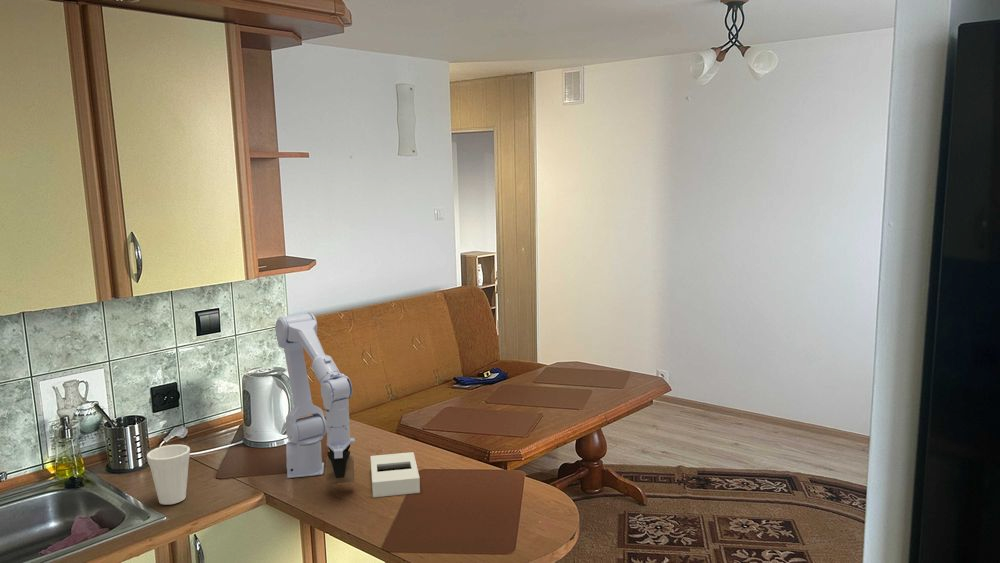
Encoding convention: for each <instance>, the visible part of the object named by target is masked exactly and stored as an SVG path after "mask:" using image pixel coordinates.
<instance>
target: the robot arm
mask: <svg viewBox="0 0 1000 563" xmlns="http://www.w3.org/2000/svg"><path fill="white" fill-rule="evenodd" d="M274 329H275V337H276V341H277V345H278V347H279V348H282V349H283V351H284V352H283V353H284V356H285V357H284V358H285V362H286V368H287V372H288V374H287V375H288V378H289V379H288V380H289V384H290V391H291V396H292V402H293V408H292V409H291V410H290V411H289V413H288V414H287V415H286V416H285V422H286V423H285V424H286V425H285V433H286V436H287V438H288V440H289V441H287V442H286V448H285V453H286V454H285V456H286V464H285V465H286V466H285V467H286V474H287V475H286V478H287V479H291V478H303V477H304V478H305V477H313V476H322V475H323V474H324V468H325V462H323V460H322V457H323V456H322V442H321V441H322V440H323V439H324V436H326V446H327V448H328V450H329V451H327V458H329V459H330V461H331V463H332V466H333V469H334V473H335V477H336V478H344V476H345V470H346V463H347V460H348V458H349V456H351V450H350V448H351V444H354V443H355V441H356V440H355V438H354V437H351V434H350V433H351V432H350V431H351V430H350V409H349V408H350V406H349V405H350V403H349V402H350V401H349V399H350V398H352V396H353V385H352V382H351V379H350V378H349V376H347V375H345V374H344V373H341V372H340V370H339V368H338V366H337V365H336V362H335V361H334V359H333V358H332V356H331V355H328V354H326V353H325V351H324V348H323V346H322V343H321V341H320V339H319V336H318V321H317V317H316V316H315V315H314V313H312V312H307V313H302V314H295V315H287V316H279V317H278V318H277V319H276V322H275V325H274ZM304 351H305V352H306V353H307V355H308V357H309V358H310V359H311V361H312V363H311V370H312V372H313V373H314V376H315V377H316V379H317V381H318V382H319V384H320V395H321V399H322V403H323V404H322V405H323V408H324V409H325V416H326V417H325V416H324V412H323V409H322V408H321V407H319V406H317V405H315V404H313V398H312V394H311V387H310V381H309V375H308V372H307V367H306V366H307V365H306V360H305V359H306V358H305V355H304V354H305V353H304Z"/></svg>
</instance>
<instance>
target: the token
mask: <svg viewBox="0 0 1000 563" xmlns="http://www.w3.org/2000/svg"><path fill="white" fill-rule="evenodd" d="M354 462H355V460H354V455H350V456H349V458H348V460H347V463H346V470H345V476H344V478H336V477H335V473H334V469H333V466H332V463H331V461H330V459H329V458H328V457H325V462H324V464H325V479H326V480H325V481H326V485H335V484H336V485H337V484H347V483H355V463H354Z"/></svg>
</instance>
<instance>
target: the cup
mask: <svg viewBox="0 0 1000 563" xmlns="http://www.w3.org/2000/svg"><path fill="white" fill-rule="evenodd" d="M190 454H191V448H190V446H188V445H186V444H168V445H163V446H159V447H156V448H154V449H151V450H149V452H147V454H146V459H147V463H148V465H149V467H150V471H151V475H152V479H153V484H154V488H155V492H156V496H157V499H158V502H159V504H160V505H174V504H177V503H180V502H182V501H184V500H185V499H186V496H187V487H188V473H189V463H190V462H189V461H190V458H191V455H190Z"/></svg>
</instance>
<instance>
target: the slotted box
mask: <svg viewBox="0 0 1000 563" xmlns="http://www.w3.org/2000/svg"><path fill="white" fill-rule="evenodd" d="M400 468H403V469H400ZM389 469H390V470H389ZM393 469H394V470H393ZM380 470H383V471H380ZM370 473H371V490H372V498H380V497H390V496H398V495H399V496H400V495H410V494H420V493H421V486H420V485H421V483H420V480H421V478H420V474H419V469H418V466H417V462H416V457H415V452H412V451H411V452H410V451H409V452H402V453H401V452H400V453H388V454H379V455H378V454H377V455H370Z"/></svg>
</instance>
